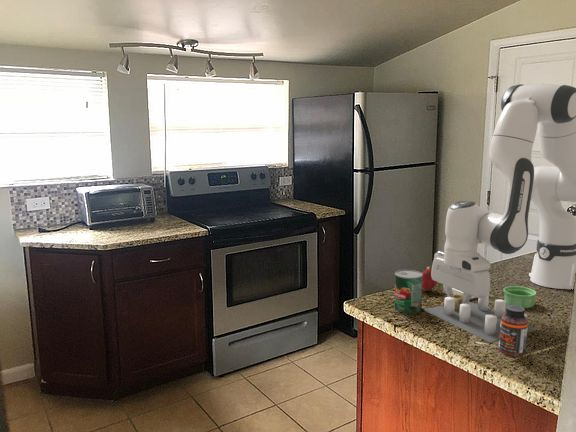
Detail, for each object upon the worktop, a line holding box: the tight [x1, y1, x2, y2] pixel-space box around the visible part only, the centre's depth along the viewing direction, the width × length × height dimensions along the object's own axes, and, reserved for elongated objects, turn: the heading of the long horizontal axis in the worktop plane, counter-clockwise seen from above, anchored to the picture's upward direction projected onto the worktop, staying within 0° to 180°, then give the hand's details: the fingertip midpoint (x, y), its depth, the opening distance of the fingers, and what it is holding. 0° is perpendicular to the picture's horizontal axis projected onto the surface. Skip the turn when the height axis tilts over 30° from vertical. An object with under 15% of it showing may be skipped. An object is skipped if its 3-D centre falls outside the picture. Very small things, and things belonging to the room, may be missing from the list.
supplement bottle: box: [498, 305, 529, 358], centre depth 123 cm, size 6×6×11 cm
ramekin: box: [502, 285, 537, 309], centre depth 155 cm, size 9×9×4 cm
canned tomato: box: [393, 269, 423, 314], centre depth 152 cm, size 8×8×11 cm
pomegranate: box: [421, 266, 438, 292], centre depth 167 cm, size 6×6×8 cm
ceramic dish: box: [442, 284, 476, 300], centre depth 164 cm, size 9×9×2 cm
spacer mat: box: [422, 294, 538, 343], centre depth 143 cm, size 17×25×5 cm
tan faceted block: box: [449, 294, 464, 311], centre depth 152 cm, size 5×4×4 cm
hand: (457, 303), depth 152 cm, fingers closed on tan faceted block, 4 cm apart
